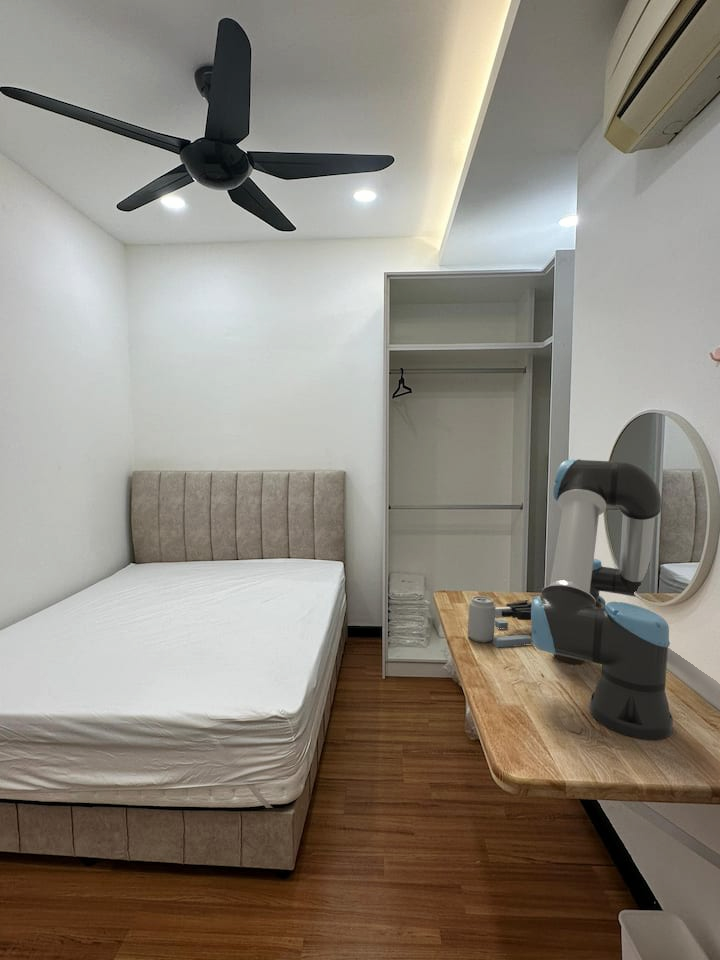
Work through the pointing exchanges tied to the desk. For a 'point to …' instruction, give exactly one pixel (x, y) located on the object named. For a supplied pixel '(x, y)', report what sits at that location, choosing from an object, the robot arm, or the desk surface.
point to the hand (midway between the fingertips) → (490, 612)
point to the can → (481, 619)
